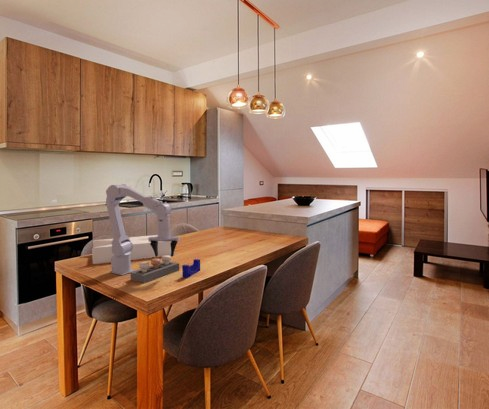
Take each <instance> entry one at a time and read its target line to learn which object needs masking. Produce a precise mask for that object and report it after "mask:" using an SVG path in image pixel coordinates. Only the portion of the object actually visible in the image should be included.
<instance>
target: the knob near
mask: <svg viewBox="0 0 489 409" xmlns="http://www.w3.org/2000/svg"><path fill="white" fill-rule="evenodd" d="M138 265H139V267H138V268H139V270H140V269H142V273H143V274H145V273H147V268H149V266H150V261H149V262H148V261H143V262H140V263H139V264H138Z"/></svg>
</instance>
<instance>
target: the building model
mask: <svg viewBox="0 0 489 409" xmlns="http://www.w3.org/2000/svg"><path fill="white" fill-rule="evenodd" d="M128 237H129V238H130V241H131V242H132V244H133V249H132V250H131V253H130V258H131V261H134V260H135V261H136V260H143V258H144V259H151V258H152V257H154V258H160V257H161V258H162V256H165V255H169V256H171V244H170V243H171V242H172V241H158V256H157V257H155V253H154V250H153V248H152V246H151V245H150V243H151V242H149V241H148V238H149V237H158V234H155V235H154V234H153V235H141V236H128ZM113 239H114V238H106V239H93V240H92V243H93V244H92V245H93V246H92V248H91V255H92V256H91V258H92V265H98V264H99V265H100V264H108V263H111V258H112V256H113V255H114V254H113V253H112V250H111V249H112V243H111V242H112V240H113ZM175 250H176V249H175ZM175 250H174V256H175V255H176V251H175ZM152 259H153V258H152Z"/></svg>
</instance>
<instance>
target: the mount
mask: <svg viewBox="0 0 489 409" xmlns="http://www.w3.org/2000/svg"><path fill="white" fill-rule="evenodd" d="M178 271H180V263H179V262H174V261H172V260H170V261H169V265H168V266H164V261H160V264H159V265H158V269H157V270H154V269H153V265H149V268H147V273H145V274H143V273H142V269H140V268H139V269H136V270H135V271H133V272H130V273H129V274H130V276H129V277H130V281H133V282H134V281H135V282H138V283H141V284H145V283H148V282H150V281H151V282H152V281H153V280H156V279H159V278H162V277H164V276H167V275H169V274H173V273H176V272H178Z"/></svg>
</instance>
